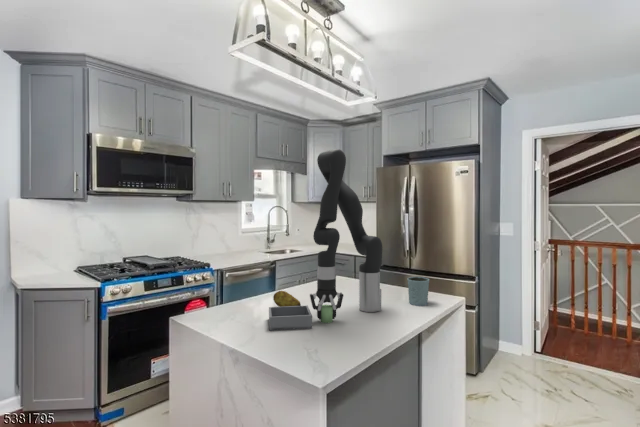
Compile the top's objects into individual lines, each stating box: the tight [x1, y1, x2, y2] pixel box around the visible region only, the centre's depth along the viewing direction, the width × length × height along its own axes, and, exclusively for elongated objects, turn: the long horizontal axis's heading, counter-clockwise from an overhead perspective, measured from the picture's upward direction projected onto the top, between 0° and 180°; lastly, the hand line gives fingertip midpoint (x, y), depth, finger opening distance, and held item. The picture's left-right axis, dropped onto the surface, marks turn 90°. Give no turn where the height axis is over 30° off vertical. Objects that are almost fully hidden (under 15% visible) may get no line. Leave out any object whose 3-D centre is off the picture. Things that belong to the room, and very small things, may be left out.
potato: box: [272, 290, 302, 307], centre depth 162 cm, size 8×13×8 cm, turn 45°
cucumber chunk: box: [319, 304, 334, 324], centre depth 146 cm, size 5×5×6 cm
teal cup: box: [407, 276, 430, 307], centre depth 172 cm, size 10×10×12 cm
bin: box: [268, 305, 313, 332], centre depth 143 cm, size 16×14×5 cm
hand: (326, 318), depth 146 cm, fingers closed on cucumber chunk, 5 cm apart
